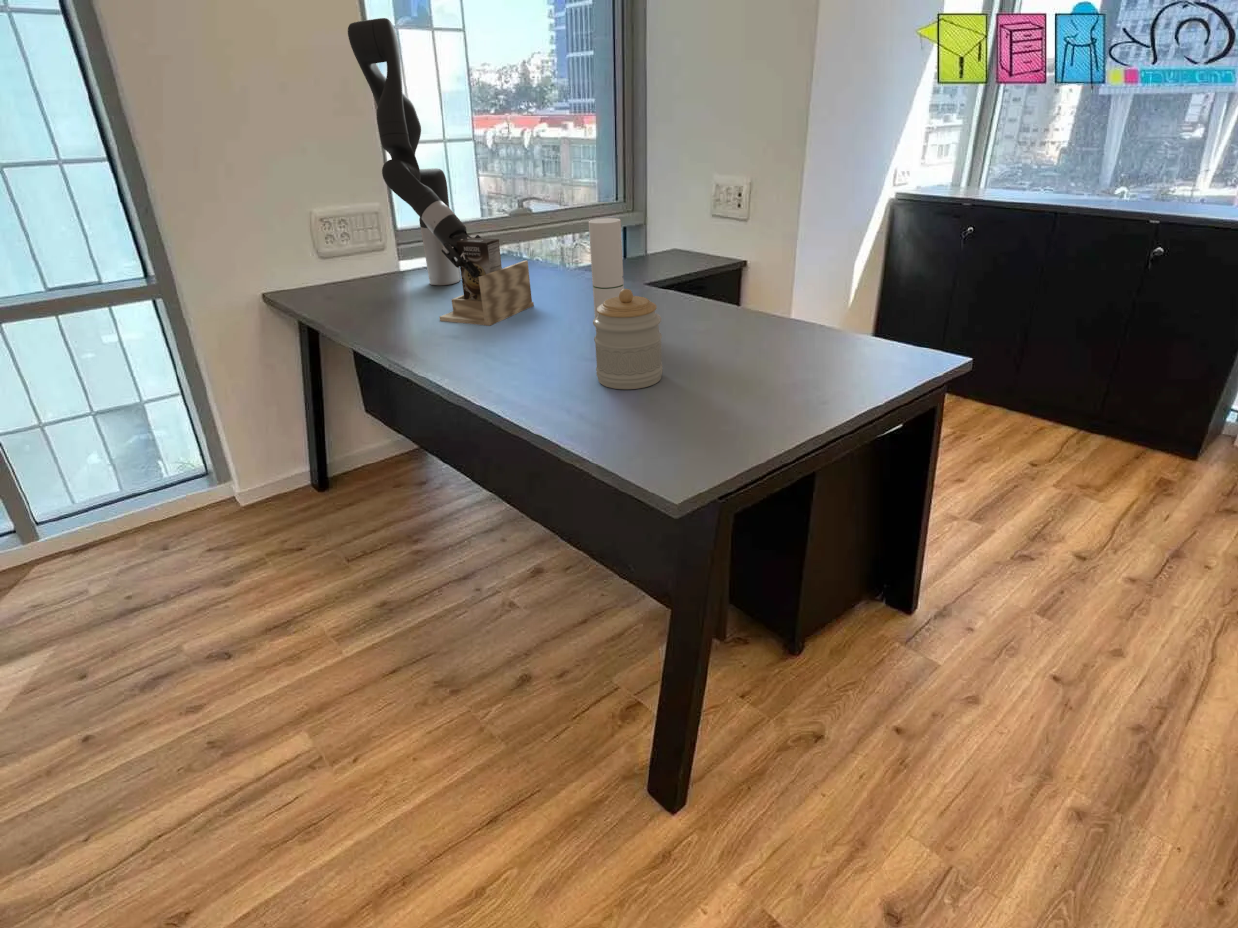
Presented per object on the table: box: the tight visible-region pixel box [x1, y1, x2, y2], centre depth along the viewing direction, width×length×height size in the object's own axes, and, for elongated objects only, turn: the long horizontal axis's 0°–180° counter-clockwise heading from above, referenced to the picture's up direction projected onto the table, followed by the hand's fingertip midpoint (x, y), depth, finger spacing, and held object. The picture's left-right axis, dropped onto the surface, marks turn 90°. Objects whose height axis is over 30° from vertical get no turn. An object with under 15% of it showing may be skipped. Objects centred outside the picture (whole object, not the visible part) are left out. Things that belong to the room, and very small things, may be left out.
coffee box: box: [457, 237, 503, 301], centre depth 186 cm, size 9×6×16 cm
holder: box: [438, 260, 535, 327], centre depth 189 cm, size 20×16×12 cm
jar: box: [592, 288, 664, 390], centre depth 138 cm, size 13×13×18 cm
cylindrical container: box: [588, 217, 625, 319], centre depth 166 cm, size 7×7×25 cm
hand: (486, 272), depth 186 cm, fingers closed on coffee box, 6 cm apart
